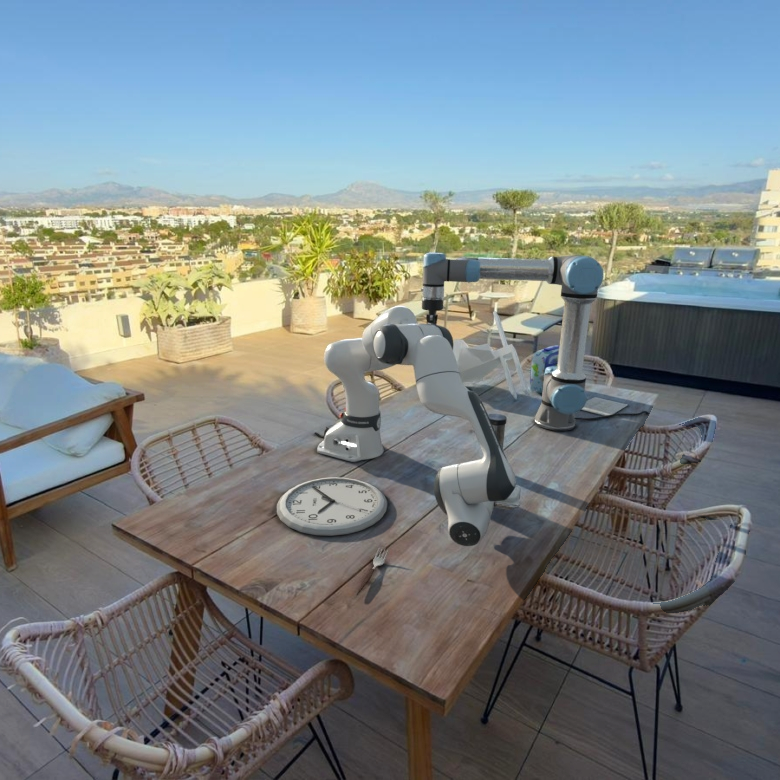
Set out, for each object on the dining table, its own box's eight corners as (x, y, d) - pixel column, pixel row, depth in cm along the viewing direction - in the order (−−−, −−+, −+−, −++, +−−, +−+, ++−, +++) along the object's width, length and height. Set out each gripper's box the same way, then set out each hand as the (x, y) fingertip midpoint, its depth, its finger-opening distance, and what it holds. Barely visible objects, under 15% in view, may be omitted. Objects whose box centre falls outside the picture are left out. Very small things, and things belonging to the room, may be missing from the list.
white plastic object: (461, 429, 252) (437, 405, 227) (444, 352, 274) (420, 323, 250) (535, 404, 240) (518, 377, 215) (510, 326, 262) (492, 293, 237)
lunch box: (546, 398, 236) (551, 353, 229) (525, 393, 243) (529, 349, 237) (573, 387, 253) (579, 344, 247) (553, 382, 260) (558, 341, 254)
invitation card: (608, 416, 214) (573, 407, 224) (608, 416, 214) (573, 408, 224) (628, 404, 229) (594, 396, 238) (628, 405, 229) (594, 397, 238)
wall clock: (392, 527, 129) (268, 531, 127) (391, 533, 130) (269, 537, 127) (383, 473, 158) (282, 475, 155) (383, 478, 158) (282, 480, 156)
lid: (509, 424, 158) (510, 419, 157) (492, 426, 156) (492, 420, 156) (500, 418, 163) (501, 413, 163) (484, 419, 162) (484, 414, 161)
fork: (350, 595, 108) (350, 587, 107) (378, 552, 122) (379, 545, 122) (362, 598, 107) (362, 590, 106) (389, 555, 121) (389, 547, 121)
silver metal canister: (503, 473, 163) (508, 420, 158) (488, 475, 162) (492, 421, 156) (496, 466, 168) (500, 414, 162) (481, 468, 166) (485, 415, 161)
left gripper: (519, 497, 127) (524, 473, 139) (437, 484, 133) (449, 462, 145) (517, 520, 128) (522, 494, 141) (436, 506, 135) (448, 482, 147)
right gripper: (424, 293, 195) (422, 349, 202) (419, 302, 172) (417, 365, 178) (444, 294, 195) (441, 350, 201) (442, 303, 171) (439, 366, 177)
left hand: (484, 478), depth 143 cm, fingers open, 8 cm apart
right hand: (430, 357), depth 190 cm, fingers open, 13 cm apart
